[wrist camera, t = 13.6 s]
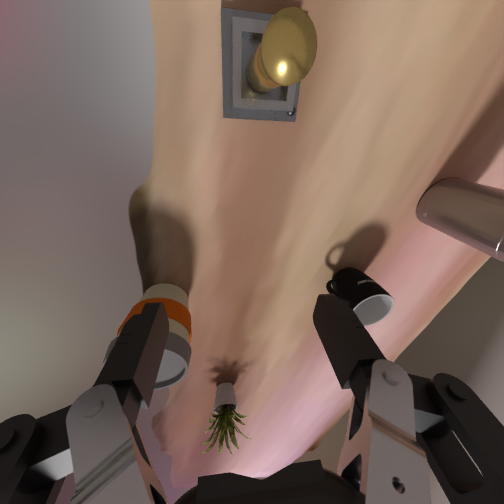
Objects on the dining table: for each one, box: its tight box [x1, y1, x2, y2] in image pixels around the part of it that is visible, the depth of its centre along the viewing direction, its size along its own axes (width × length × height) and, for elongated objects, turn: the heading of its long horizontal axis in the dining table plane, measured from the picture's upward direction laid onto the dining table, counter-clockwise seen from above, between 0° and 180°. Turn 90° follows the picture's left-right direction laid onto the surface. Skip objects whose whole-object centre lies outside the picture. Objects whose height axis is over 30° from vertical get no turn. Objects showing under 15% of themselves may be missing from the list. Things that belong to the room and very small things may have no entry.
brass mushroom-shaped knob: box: [247, 7, 317, 93], centre depth 21 cm, size 5×5×11 cm
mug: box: [326, 268, 394, 326], centre depth 44 cm, size 12×9×10 cm
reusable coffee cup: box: [102, 283, 192, 390], centre depth 37 cm, size 12×13×15 cm
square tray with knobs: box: [221, 7, 300, 122], centre depth 25 cm, size 10×10×3 cm
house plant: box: [201, 383, 250, 455], centre depth 60 cm, size 14×14×16 cm
